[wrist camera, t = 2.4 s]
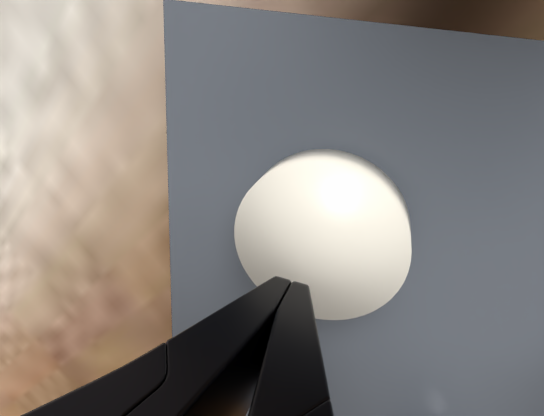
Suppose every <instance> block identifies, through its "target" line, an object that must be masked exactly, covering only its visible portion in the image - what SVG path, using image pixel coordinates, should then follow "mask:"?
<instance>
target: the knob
mask: <svg viewBox="0 0 544 416" xmlns="http://www.w3.org/2000/svg"><path fill="white" fill-rule="evenodd" d="M234 239H235V246H236V250H237V253H238V256H239V259H240V261H241V264H242V266H243V268H244V269H245V271H246V273H247V274H248V276H249V277H250V279H251V280H252V281H253V283H254V284H255V285H256V286H259V285H261V284H262V283H264V282H266V281H267V280H269V279H271V278H272V277H274V276H279V277H282V278H286V279H289V280H290V281H291V283H292V282H293V281H296V282H300V283H303V284H307V285H308V286H309V288H310V293H311V299H312V304H313V309H314V314H315V319H322V320H346V319H352V318H357V317H360V316H363V315H366V314H369V313H371V312H373V311H375V310H377V309H378V308H380V307H382V306H383V305H385V304H386V303H387V302H388V301H389V300H391V299H392V298H393V297H394V295H395V294H396V293H397V292H398V291H399V289H400V288H401V286H402V285H403V283H404V281H405V279H406V277H407V274H408V272H409V268H410V263H411V254H412V247H411V225H410V216H409V212H408V208H407V205H406V203H405V200H404V198H403V196H402V194H401V192H400V191H399V189H398V187H397V186H396V185H395V184H394V182H393V181H392V180H391V179H390V178H389V177H388V176H387V175H386V174H385V173H384V172H383V171H382V170H381V169H379V168H378V167H377V166H375V165H374V164H373V163H371V162H369V161H367V160H365V159H364V158H362V157H359V156H357V155H354V154H352V153H348V152H344V151H340V150H333V149H313V150H306V151H302V152H299V153H295V154H293V155H290V156H288V157H286V158H284V159H283V160H281V161H279V162H278V163H276V164H275V165H274V166H273V167H271V168H270V169H269V170H268V171H267V172H266V173H265V174H264V175H263V176H262V177H261V178H260V179H259V180H258V181H257V182H256V183H255V184H254V185H253V186H252V187H251V189H250V190H249V191H248V192H247V193H246V195H245V196H244V198H243V200H242V202H241V204H240V206H239V208H238V211H237V214H236V218H235V225H234Z"/></svg>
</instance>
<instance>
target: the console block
mask: <svg viewBox="0 0 544 416" xmlns="http://www.w3.org/2000/svg"><path fill="white" fill-rule="evenodd" d="M163 6H164V44H165V81H166V119H167V156H168V193H169V231H170V268H171V306H172V338H173V337H174V336H176V335H178V334H179V333H181V332H183V331H184V330H186V329H188V328H189V327H191V326H193V325H194V324H196V323H197V322H199V321H201V320H202V319H204V318H206V317H207V316H209V315H211V314H212V313H214V312H216V311H217V310H219V309H221V308H222V307H224V306H226V305H227V304H229V303H231V302H232V301H234V300H236V299H237V298H239V297H241V296H242V295H244V294H246V293H247V292H249V291H251V290H252V289H254V288H256V287H257V286H256V285H255V284H254V283H253V281H252V280H251V279H250V277H249V276H248V274H247V273H246V271H245V269H244V268H243V266H242V264H241V261H240V259H239V256H238V253H237V250H236V246H235V239H234V225H235V218H236V214H237V211H238V208H239V206H240V204H241V202H242V200H243V198H244V196H245V195H246V193H247V192H248V191H249V190H250V189H251V187H252V186H253V185H254V184H255V183H256V182H257V181H258V180H259V179H260V178H261V177H262V176H263V175H264V174H265V173H266V172H267V171H268V170H269V169H270V168H271V167H273V166H274V165H275V164H276V163H278V162H279V161H281V160H283V159H284V158H286V157H288V156H290V155H293V154H295V153H299V152H302V151H306V150H313V149H333V150H340V151H344V152H348V153H352V154H354V155H357V156H359V157H362V158H364V159H365V160H367V161H369V162H371V163H373V164H374V165H375V166H377V167H378V168H379V169H381V170H382V171H383V172H384V173H385V174H386V175H387V176H388V177H389V178H390V179H391V180H392V181H393V182H394V184H395V185H396V186H397V187H398V189H399V191H400V192H401V194H402V196H403V198H404V200H405V203H406V205H407V208H408V212H409V216H410V225H411V247H412V254H411V263H410V268H409V272H408V274H407V277H406V279H405V281H404V283H403V285H402V286H401V288H400V289H399V291H398V292H397V293H396V294H395V295H394V297H393V298H392V299H391V300H389V301H388V302H387V303H386V304H385V305H383V306H382V307H380V308H378V309H377V310H375V311H373V312H371V313H369V314H366V315H363V316H360V317H357V318H352V319H346V320H322V319H315V320H316V325H317V330H318V336H319V341H320V346H321V352H322V357H323V362H324V367H325V373H326V378H327V383H328V389H329V394H330V401H331V403H332V409H333V414H334V416H544V41H541V40H532V39H523V38H514V37H505V36H496V35H487V34H478V33H468V32H459V31H450V30H441V29H432V28H423V27H414V26H405V25H395V24H386V23H377V22H368V21H359V20H350V19H341V18H332V17H322V16H313V15H304V14H295V13H286V12H277V11H268V10H259V9H249V8H240V7H231V6H222V5H213V4H204V3H195V2H186V1H176V0H163ZM249 410H250V408H249ZM249 410H248V412H247V414H246V416H248V413H249Z"/></svg>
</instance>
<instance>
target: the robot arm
mask: <svg viewBox="0 0 544 416" xmlns="http://www.w3.org/2000/svg"><path fill="white" fill-rule="evenodd" d="M249 408H250V410H249ZM248 410H249V413H248V416H334V414H333V409H332V403H331V401H330V394H329V389H328V383H327V378H326V373H325V367H324V362H323V357H322V352H321V346H320V341H319V336H318V330H317V325H316V320H315V314H314V309H313V304H312V299H311V293H310V288H309V286H308V285H307V284H303V283H300V282H296V281H293V282H292V283H291V281H290V280H289V279H286V278H282V277H279V276H274V277H272V278H271V279H269V280H267V281H266V282H264V283H262V284H261V285H259V286H257V287H256V288H254V289H252V290H251V291H249V292H247V293H246V294H244V295H242V296H241V297H239V298H237V299H236V300H234V301H232V302H231V303H229V304H227V305H226V306H224V307H222V308H221V309H219V310H217V311H216V312H214V313H212V314H211V315H209V316H207V317H206V318H204V319H202V320H201V321H199V322H197V323H196V324H194V325H193V326H191V327H189V328H188V329H186V330H184V331H183V332H181V333H179V334H178V335H176V336H174V337H173V338H171V339H169V340H168V341H167V342H166V343H162V344H161V345H159V346H157V347H156V348H154V349H152V350H151V351H149V352H147V353H145V354H144V355H142V356H140V357H138V358H137V359H135V360H133V361H131V362H130V363H128V364H126V365H124V366H122V367H120V368H118V369H116V370H114V371H112V372H110V373H108V374H106V375H104V376H102V377H100V378H98V379H96V380H94V381H92V382H90V383H88V384H86V385H84V386H82V387H80V388H78V389H76V390H73V391H71V392H69V393H67V394H65V395H63V396H61V397H59V398H57V399H55V400H53V401H51V402H49V403H46V404H44V405H42V406H40V407H38V408H36V409H34V410H32V411H30V412H28V413H25V414H23V415H21V416H246V414H247V412H248Z"/></svg>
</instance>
